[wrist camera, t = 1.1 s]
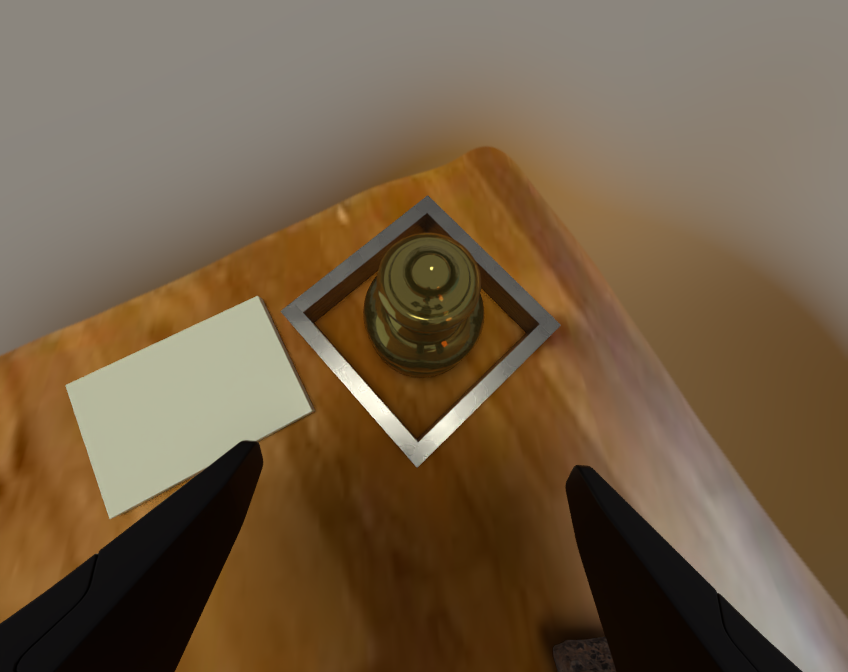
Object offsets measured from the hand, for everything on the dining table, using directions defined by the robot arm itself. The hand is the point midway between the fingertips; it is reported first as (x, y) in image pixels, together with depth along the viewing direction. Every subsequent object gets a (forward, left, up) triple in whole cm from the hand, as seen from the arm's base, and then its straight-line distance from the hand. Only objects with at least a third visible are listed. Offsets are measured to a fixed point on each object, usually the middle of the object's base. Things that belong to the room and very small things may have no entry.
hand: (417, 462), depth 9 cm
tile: (+12, +9, -13) cm, 20 cm away
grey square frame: (+5, -6, -13) cm, 15 cm away
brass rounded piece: (+5, -5, -14) cm, 15 cm away
